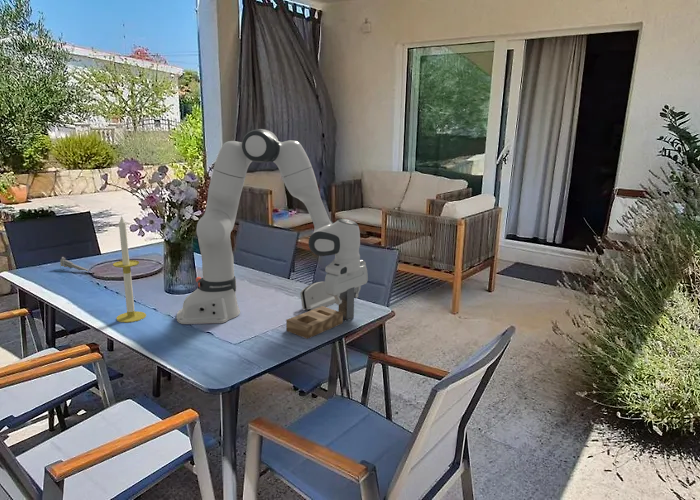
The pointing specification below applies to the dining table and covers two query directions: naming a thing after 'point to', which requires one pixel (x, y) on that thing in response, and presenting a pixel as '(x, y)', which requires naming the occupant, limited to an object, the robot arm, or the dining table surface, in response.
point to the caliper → (70, 264)
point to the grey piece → (316, 296)
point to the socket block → (314, 322)
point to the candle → (127, 278)
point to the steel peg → (347, 304)
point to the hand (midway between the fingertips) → (347, 300)
